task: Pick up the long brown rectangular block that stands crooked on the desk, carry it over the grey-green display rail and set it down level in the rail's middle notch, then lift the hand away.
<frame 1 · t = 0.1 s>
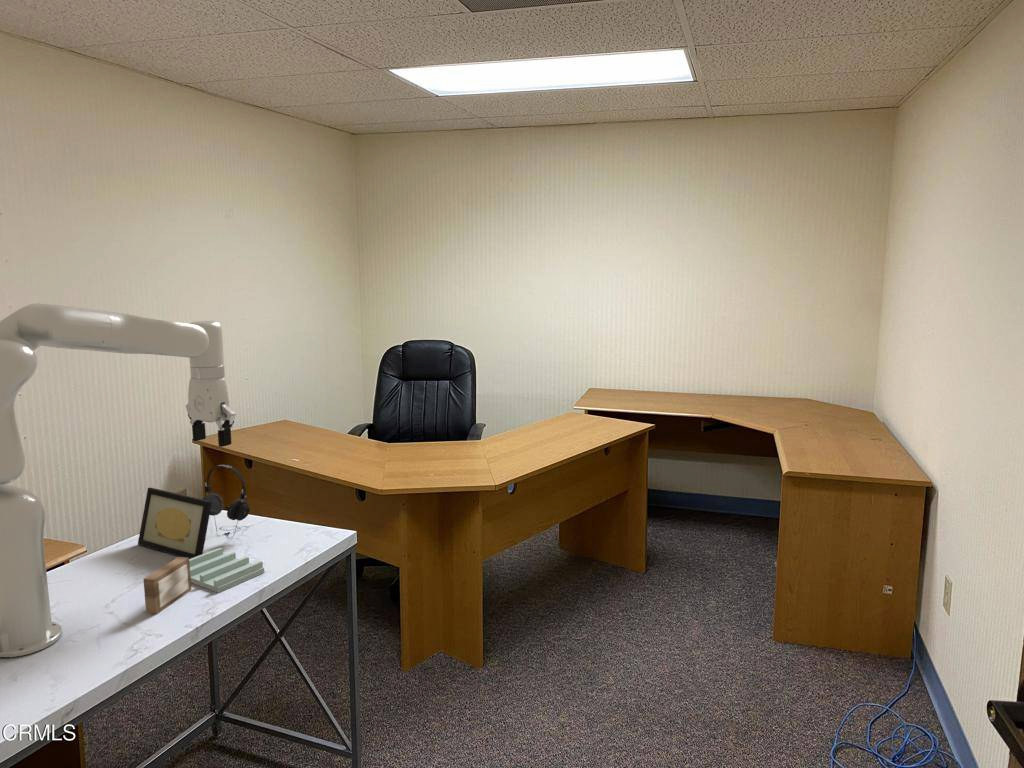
hand: (212, 442, 178), 31 cm above the table, tool pointing down, fingers open, 9 cm apart
long brown rectangular block: (169, 601, 164), on the table
headphones: (233, 534, 204), on the table
display rail: (218, 574, 178), on the table
picture frame: (181, 548, 194), on the table
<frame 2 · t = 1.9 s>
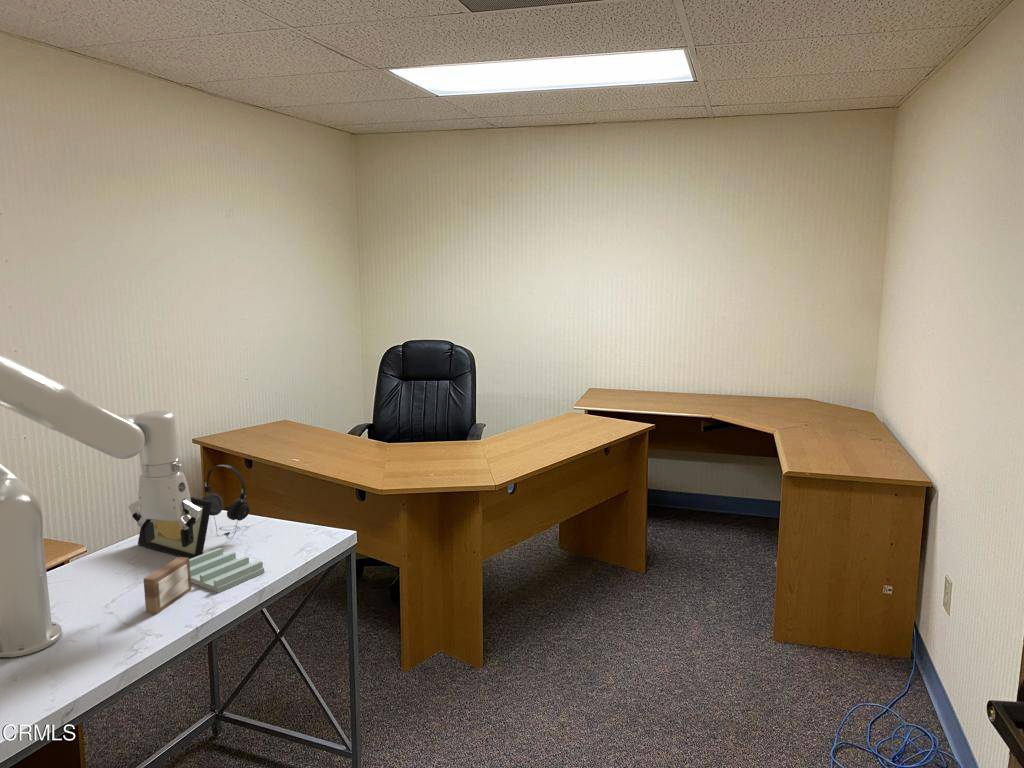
hand: (168, 543, 162), 13 cm above the table, tool pointing down, fingers open, 9 cm apart
nothing on the table moved.
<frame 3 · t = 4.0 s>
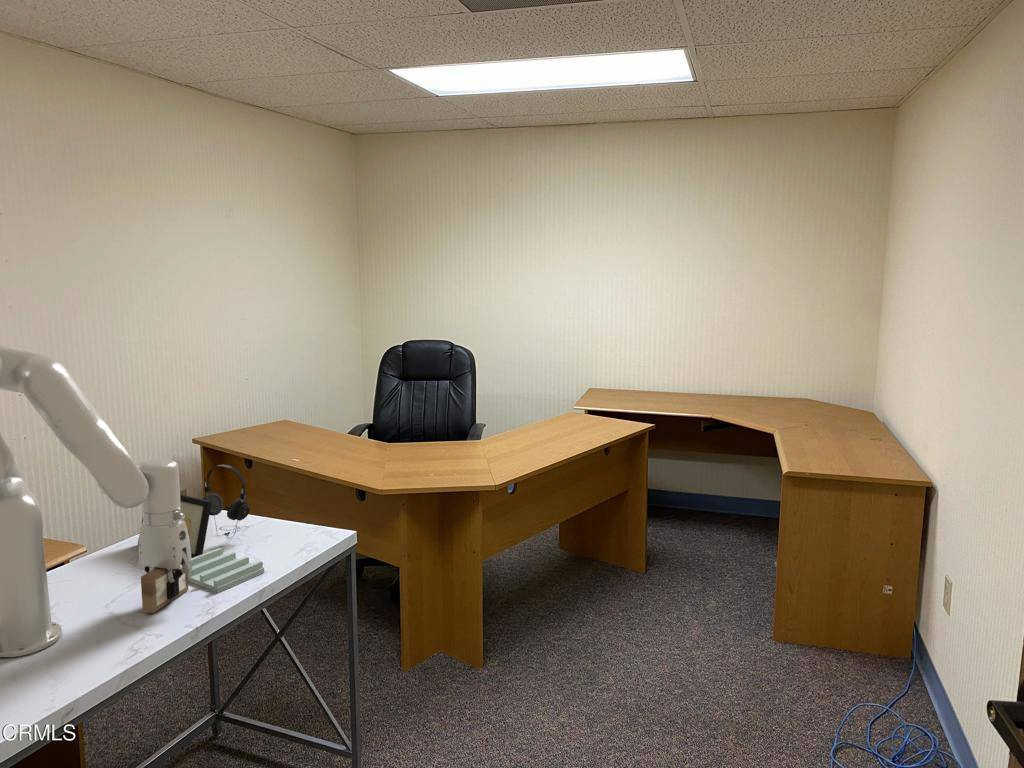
hand: (166, 595, 163), 2 cm above the table, tool pointing down, fingers closed on long brown rectangular block, 2 cm apart
long brown rectangular block: (166, 600, 163), on the table, touching gripper
everything else where it was.
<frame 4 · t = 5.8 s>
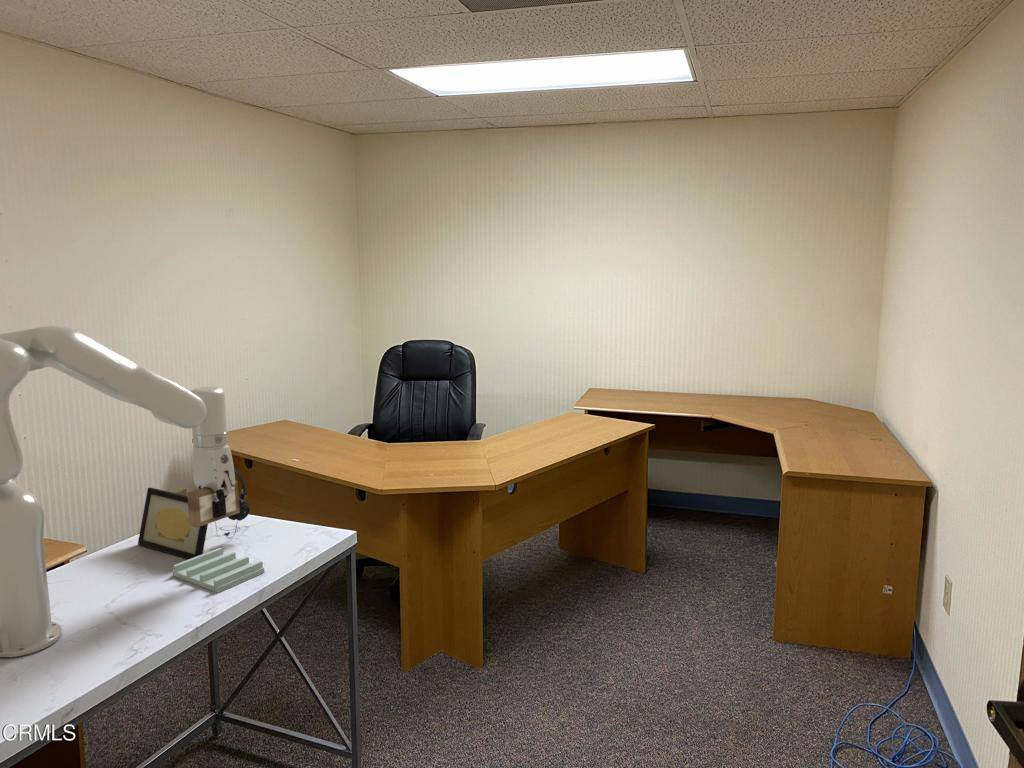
hand: (215, 514, 175), 15 cm above the table, tool pointing down, fingers closed on long brown rectangular block, 2 cm apart
long brown rectangular block: (215, 518, 176), point 14 cm above the table, touching gripper
everything else where it was.
when the fingers open (4 cm above the table, at t = 8.1 s): long brown rectangular block drops 1 cm, resting on display rail.
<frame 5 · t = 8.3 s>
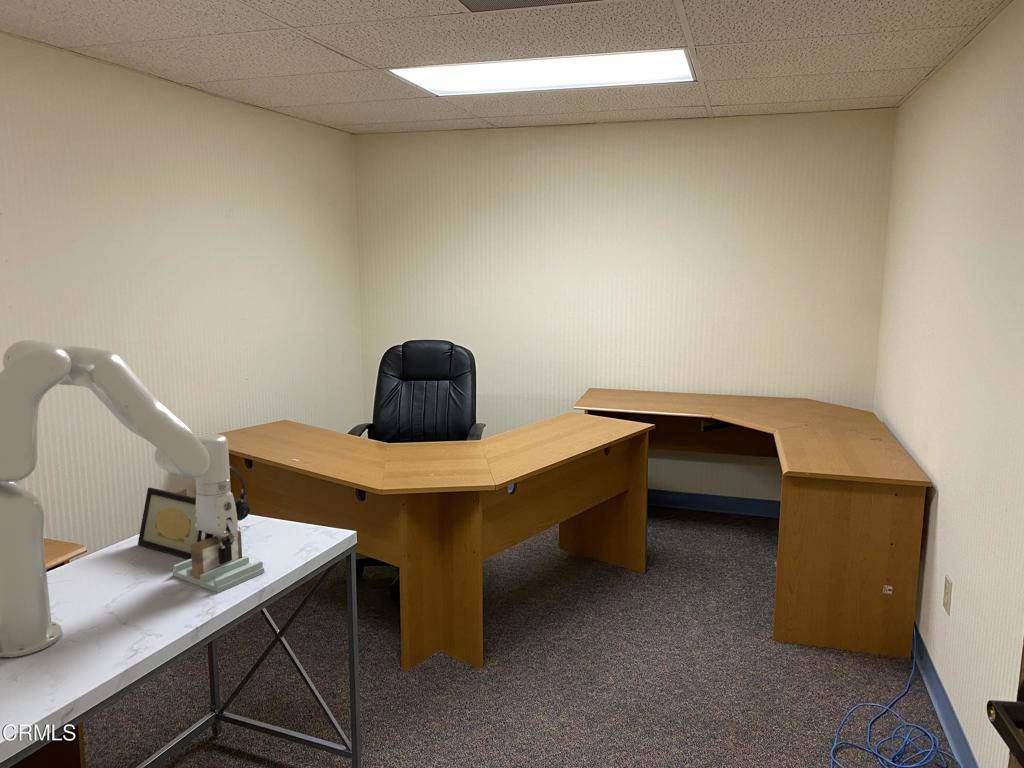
hand: (217, 558, 177), 4 cm above the table, tool pointing down, fingers open, 4 cm apart
long brown rectangular block: (218, 569, 178), point 1 cm above the table, touching display rail
everything else where it was.
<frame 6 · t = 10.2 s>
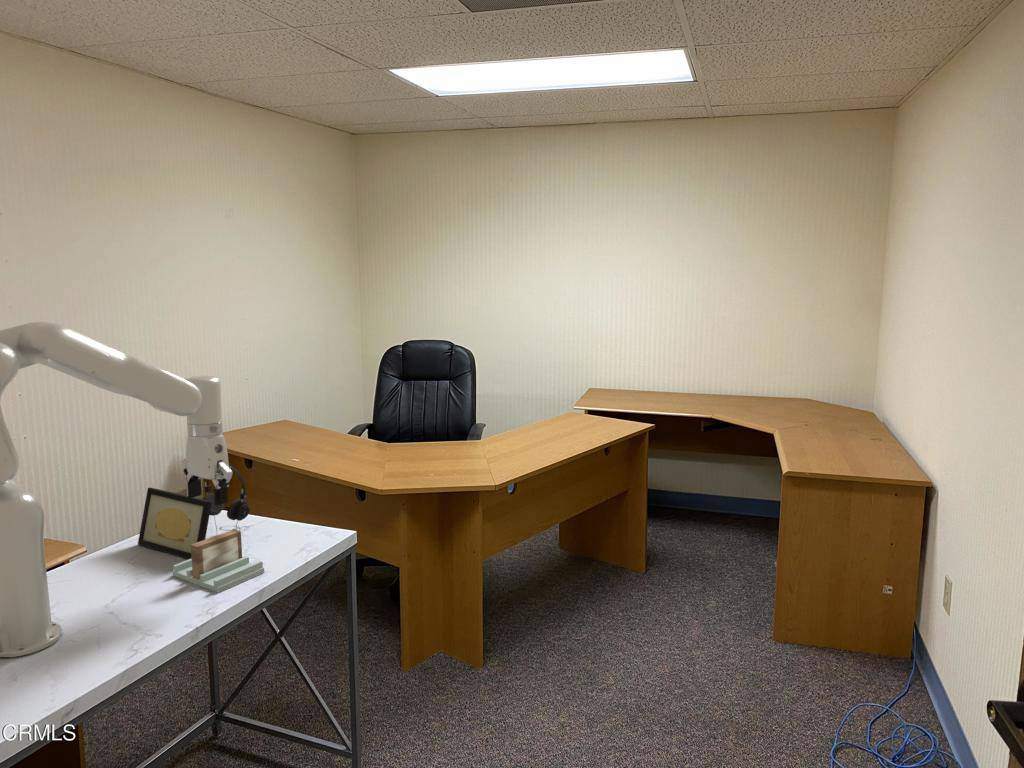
hand: (207, 500, 174), 19 cm above the table, tool pointing down, fingers open, 9 cm apart
nothing on the table moved.
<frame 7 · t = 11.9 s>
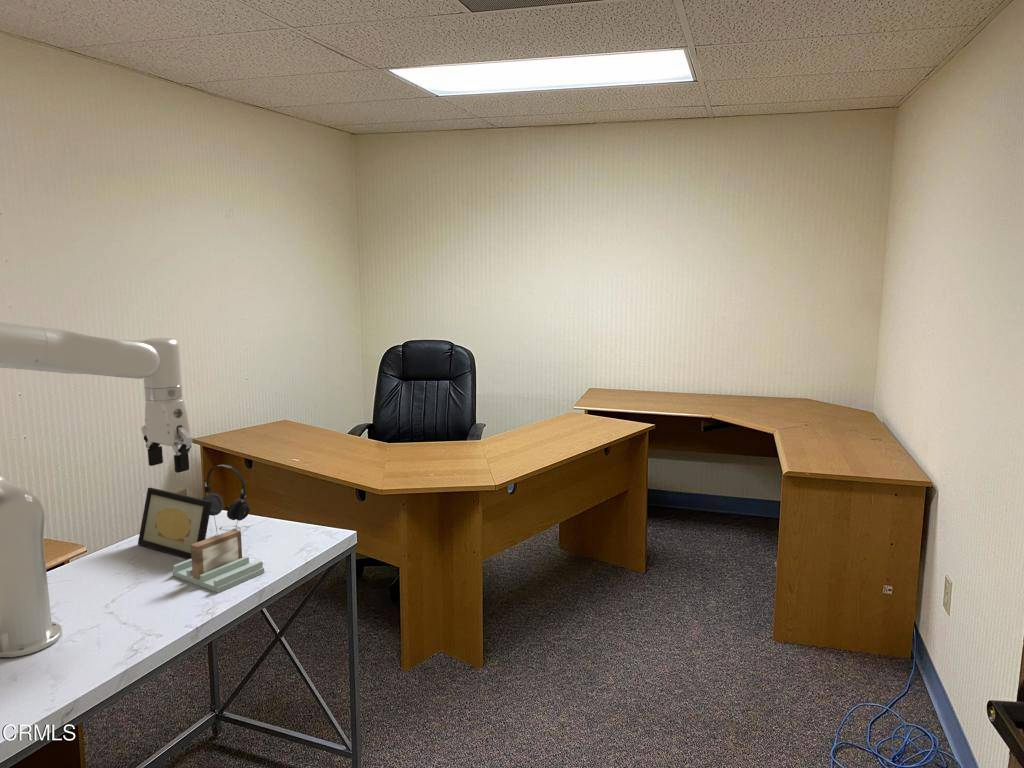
hand: (168, 467, 167), 28 cm above the table, tool pointing down, fingers open, 9 cm apart
nothing on the table moved.
at the end: long brown rectangular block 0.1 cm off-centre on the display rail, point 1.2 cm above the display rail's base; long brown rectangular block tilted 0°; the gripper is holding nothing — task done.
